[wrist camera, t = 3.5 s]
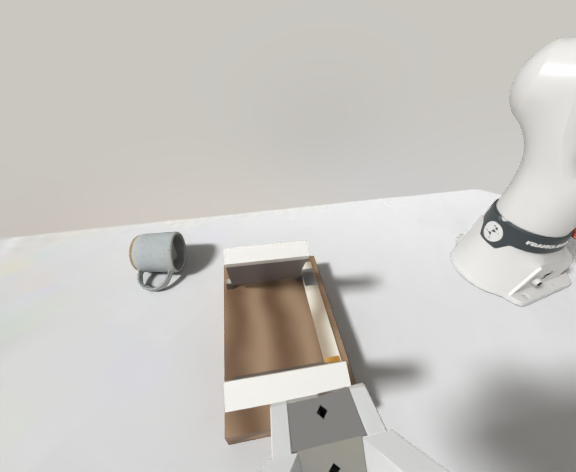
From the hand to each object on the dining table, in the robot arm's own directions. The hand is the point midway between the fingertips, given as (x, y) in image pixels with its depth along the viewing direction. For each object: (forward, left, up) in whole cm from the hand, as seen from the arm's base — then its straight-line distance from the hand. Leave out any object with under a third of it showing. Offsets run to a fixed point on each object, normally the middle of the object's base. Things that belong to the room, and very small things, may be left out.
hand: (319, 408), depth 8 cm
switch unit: (-2, -18, -32) cm, 37 cm away
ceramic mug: (+19, -35, -33) cm, 51 cm away
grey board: (-1, -10, -27) cm, 29 cm away
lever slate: (-1, -26, -27) cm, 37 cm away
